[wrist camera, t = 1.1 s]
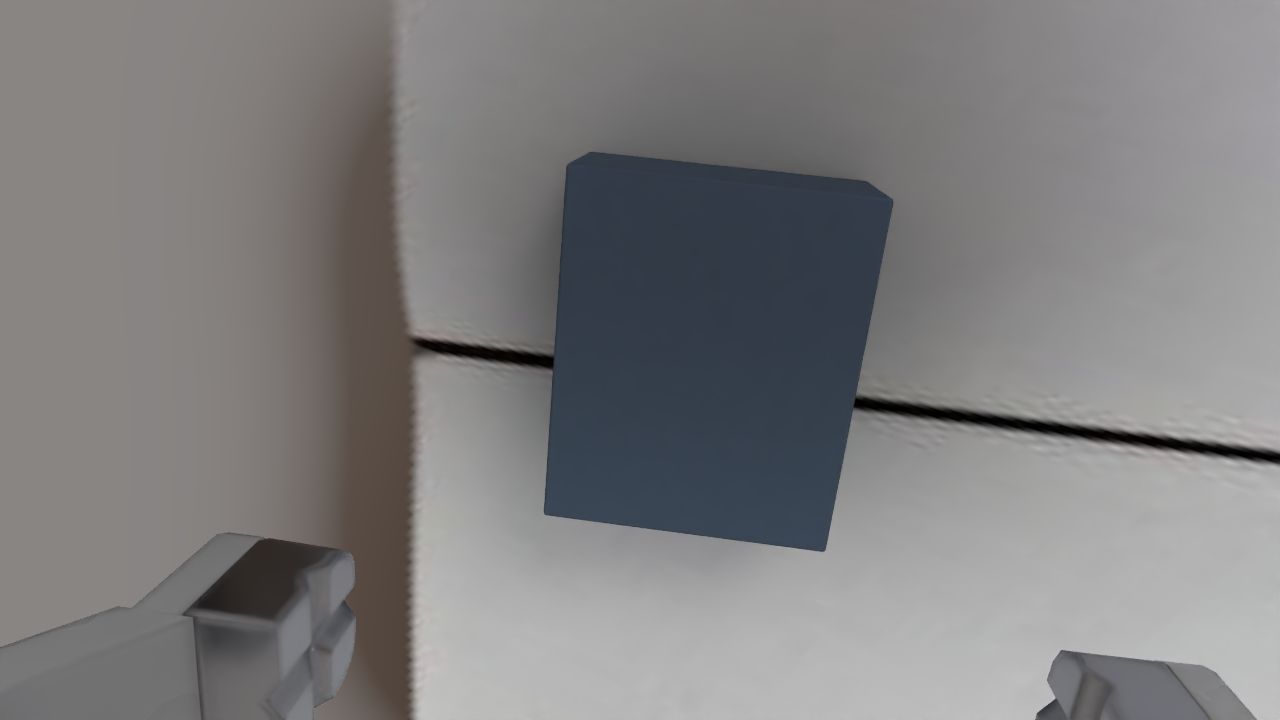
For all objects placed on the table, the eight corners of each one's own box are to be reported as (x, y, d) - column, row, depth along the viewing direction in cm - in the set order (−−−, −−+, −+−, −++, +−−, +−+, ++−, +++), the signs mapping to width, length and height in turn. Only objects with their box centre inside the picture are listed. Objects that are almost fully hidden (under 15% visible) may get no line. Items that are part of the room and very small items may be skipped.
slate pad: (588, 151, 19) (566, 163, 16) (868, 181, 19) (894, 198, 16) (565, 459, 22) (543, 515, 19) (811, 491, 22) (825, 553, 19)
